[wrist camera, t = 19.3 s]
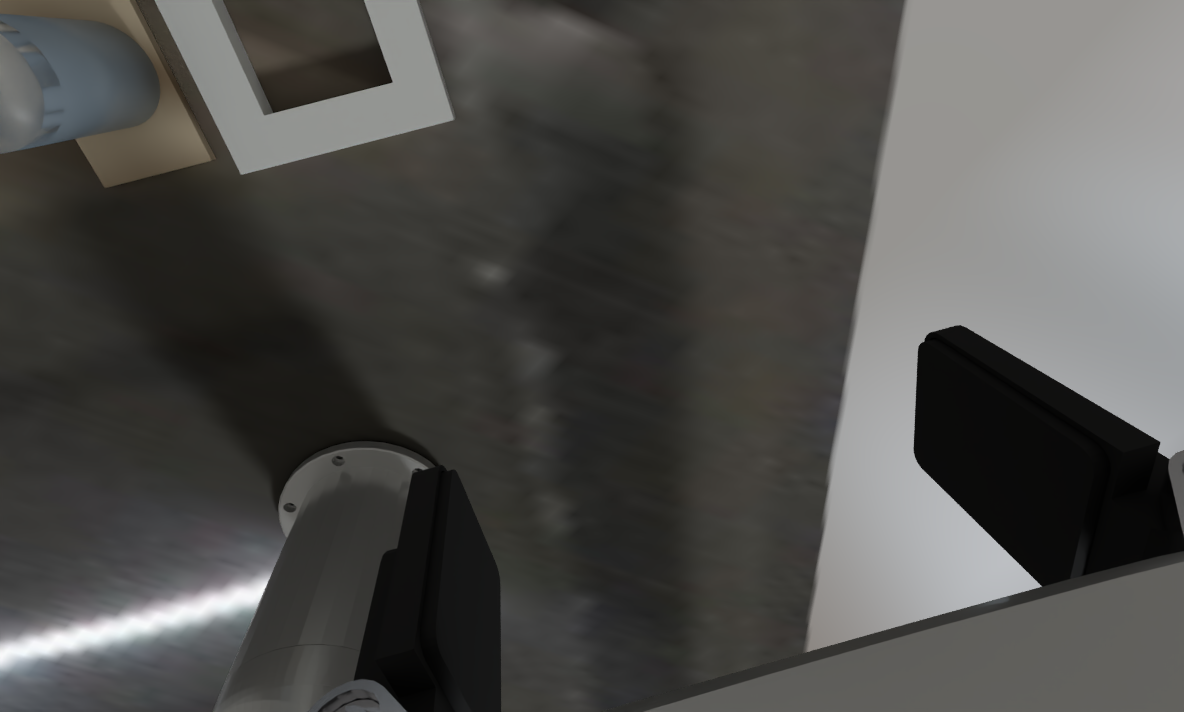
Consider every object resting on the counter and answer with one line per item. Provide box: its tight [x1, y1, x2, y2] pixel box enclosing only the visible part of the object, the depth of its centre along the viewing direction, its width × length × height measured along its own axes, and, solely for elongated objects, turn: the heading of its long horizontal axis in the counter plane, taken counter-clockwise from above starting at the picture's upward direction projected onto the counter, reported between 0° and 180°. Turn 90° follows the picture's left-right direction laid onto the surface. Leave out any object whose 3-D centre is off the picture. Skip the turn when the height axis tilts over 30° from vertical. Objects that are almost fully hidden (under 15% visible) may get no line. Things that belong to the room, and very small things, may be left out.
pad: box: [0, 0, 216, 188], centre depth 31 cm, size 10×6×1 cm, turn 13°
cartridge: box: [0, 14, 160, 154], centre depth 27 cm, size 5×5×9 cm
